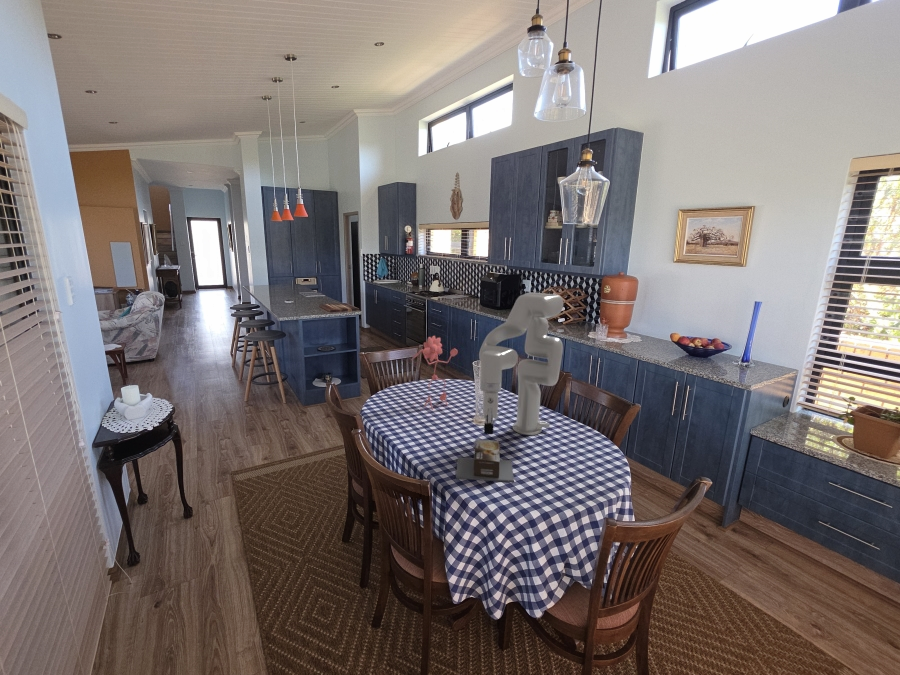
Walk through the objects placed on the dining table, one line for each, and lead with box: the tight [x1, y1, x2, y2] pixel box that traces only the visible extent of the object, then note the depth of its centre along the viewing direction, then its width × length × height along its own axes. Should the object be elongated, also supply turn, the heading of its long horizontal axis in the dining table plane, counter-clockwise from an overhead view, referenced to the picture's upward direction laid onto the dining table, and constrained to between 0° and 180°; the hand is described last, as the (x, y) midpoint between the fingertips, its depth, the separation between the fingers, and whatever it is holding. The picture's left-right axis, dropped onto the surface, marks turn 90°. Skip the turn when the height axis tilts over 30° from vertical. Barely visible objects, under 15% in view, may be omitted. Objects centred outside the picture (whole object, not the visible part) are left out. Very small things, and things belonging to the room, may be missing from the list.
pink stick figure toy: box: [410, 335, 459, 411], centre depth 217 cm, size 15×26×35 cm, turn 131°
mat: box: [455, 457, 515, 483], centre depth 158 cm, size 20×14×1 cm
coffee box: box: [473, 439, 501, 478], centre depth 159 cm, size 9×6×16 cm
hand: (488, 433), depth 160 cm, fingers closed
